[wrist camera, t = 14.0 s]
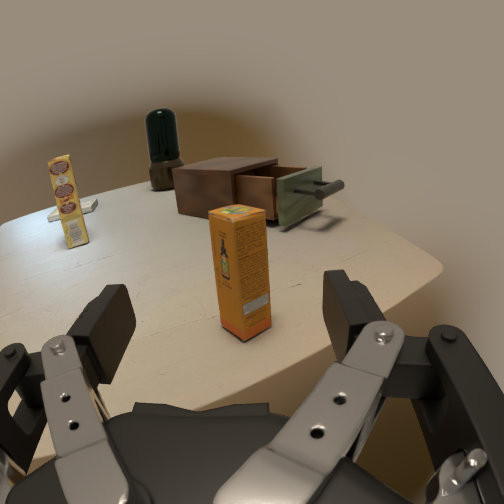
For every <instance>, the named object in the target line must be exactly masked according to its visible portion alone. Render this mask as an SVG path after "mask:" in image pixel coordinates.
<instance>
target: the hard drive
mask: <svg viewBox="0 0 504 504" xmlns="http://www.w3.org/2000/svg"><path fill="white" fill-rule="evenodd" d="M80 205H81V209H82V213H83V214H84V213H88V212H92V211H93V210H94V209H95V208H96V206H97V205H98V201H97V199H95V200H90V201H86V202H82V203H80ZM47 219H48V222H51V221H55V220H59V219H60V216H59V212H58V209H55V210H54V211H53V212H52V213H51V214H50V215H49V216H48V217H47Z"/></svg>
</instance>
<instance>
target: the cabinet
mask: <svg viewBox="0 0 504 504" xmlns="http://www.w3.org/2000/svg"><path fill="white" fill-rule="evenodd" d="M266 165H277V166H278V158H254V157H253V158H252V157H218V158H214V159H210V160H205V161H201V162H197V163H193V164H190V165H185V166H181V167H177V168H174V169H172V173H173V181H174V188H175V194H176V201H177V207H178V213H180V214H185V215H190V216H196V217H201V218H206V219H209V211H212V210H215V209H218V208H222V207H226V206H231V205H237V202H236V192H235V182H234V174H238V173H241V172H245V171H248V170H252V169H255V168H259V167H263V166H266Z"/></svg>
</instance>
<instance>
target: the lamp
mask: <svg viewBox="0 0 504 504" xmlns="http://www.w3.org/2000/svg"><path fill="white" fill-rule="evenodd" d="M145 129H146V137H147V145H148V152H149V157H150V160H151V163H150V166H149V174H150V180H151V186H152V187H153V188H154V189H155V190H169V189H174V181H173V173H172V169H174V168H177V167H181V166H184V163H183V161H182V159H181V158H180V157H179V156H180V147H179V138H178V130H177V121H176V115H175V113H174V111H173V110H171V109H169V108H157V109H154V110H152V111H150V112H149V113H148V114H147V115H146V117H145Z"/></svg>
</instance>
